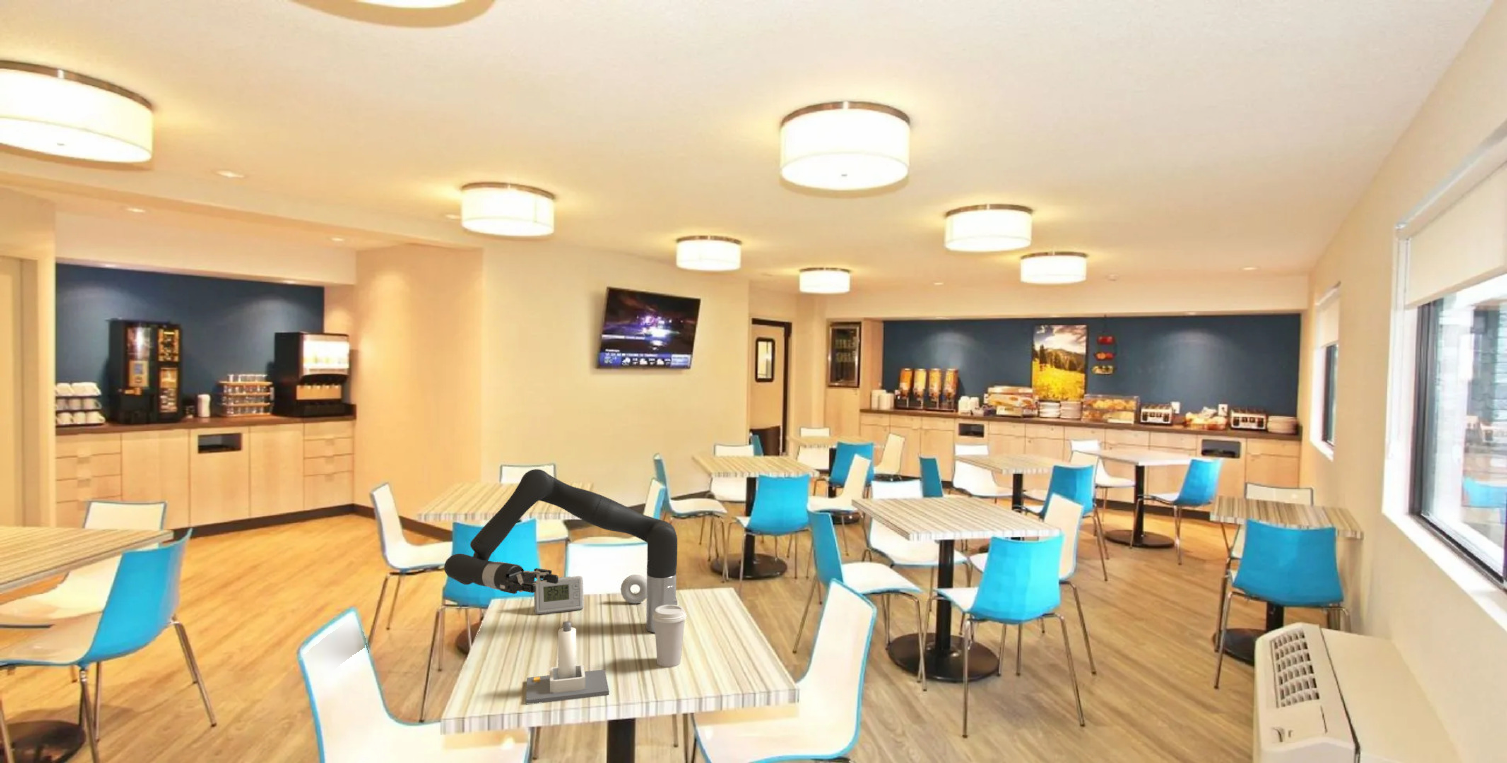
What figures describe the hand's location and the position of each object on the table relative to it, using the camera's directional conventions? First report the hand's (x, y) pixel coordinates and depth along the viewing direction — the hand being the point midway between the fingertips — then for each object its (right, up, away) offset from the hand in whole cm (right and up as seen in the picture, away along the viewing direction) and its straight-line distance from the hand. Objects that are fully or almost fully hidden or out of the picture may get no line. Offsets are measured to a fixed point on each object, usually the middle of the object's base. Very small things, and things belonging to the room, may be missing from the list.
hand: (546, 583), depth 196 cm
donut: (+15, -22, +54) cm, 61 cm away
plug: (+8, -23, -10) cm, 26 cm away
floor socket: (+8, -24, -10) cm, 27 cm away
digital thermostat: (-9, -22, +46) cm, 52 cm away
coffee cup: (+33, -24, +6) cm, 41 cm away
